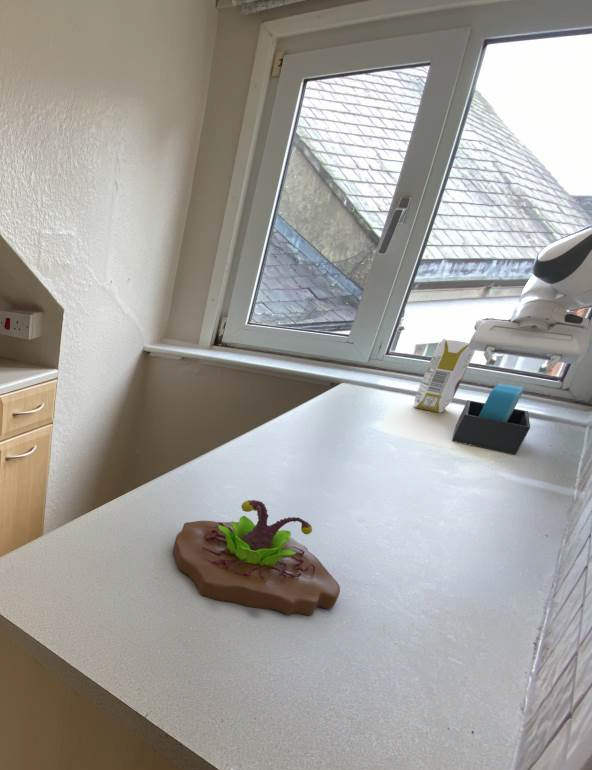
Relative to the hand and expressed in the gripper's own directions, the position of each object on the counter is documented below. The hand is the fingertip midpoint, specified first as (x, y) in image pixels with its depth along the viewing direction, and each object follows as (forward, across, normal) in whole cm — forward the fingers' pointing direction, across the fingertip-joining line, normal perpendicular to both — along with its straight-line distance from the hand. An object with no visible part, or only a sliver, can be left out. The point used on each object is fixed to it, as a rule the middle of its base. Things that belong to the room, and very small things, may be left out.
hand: (515, 368), depth 131 cm
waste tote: (+18, 0, +4) cm, 19 cm away
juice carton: (+4, -12, +18) cm, 22 cm away
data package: (+18, 0, +3) cm, 18 cm away
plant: (+90, -24, -68) cm, 115 cm away
